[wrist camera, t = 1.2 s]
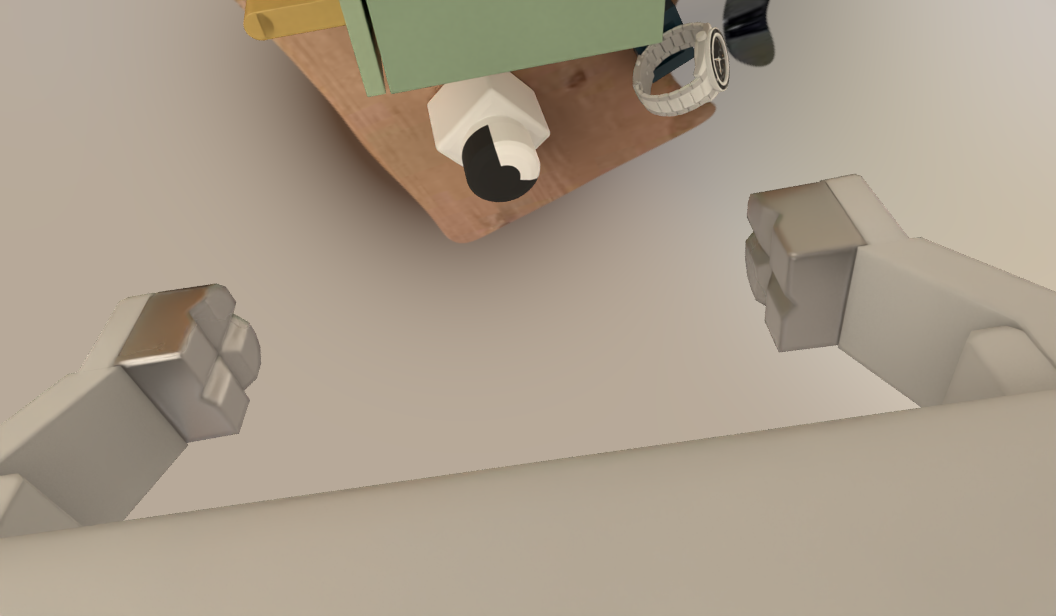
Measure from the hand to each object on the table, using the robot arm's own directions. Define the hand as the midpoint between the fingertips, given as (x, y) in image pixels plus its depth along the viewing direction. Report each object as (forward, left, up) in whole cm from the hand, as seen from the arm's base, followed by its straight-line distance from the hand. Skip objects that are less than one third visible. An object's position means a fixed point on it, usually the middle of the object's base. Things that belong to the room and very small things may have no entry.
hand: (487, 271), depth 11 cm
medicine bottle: (+23, +15, -48) cm, 55 cm away
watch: (+13, +28, -48) cm, 57 cm away
